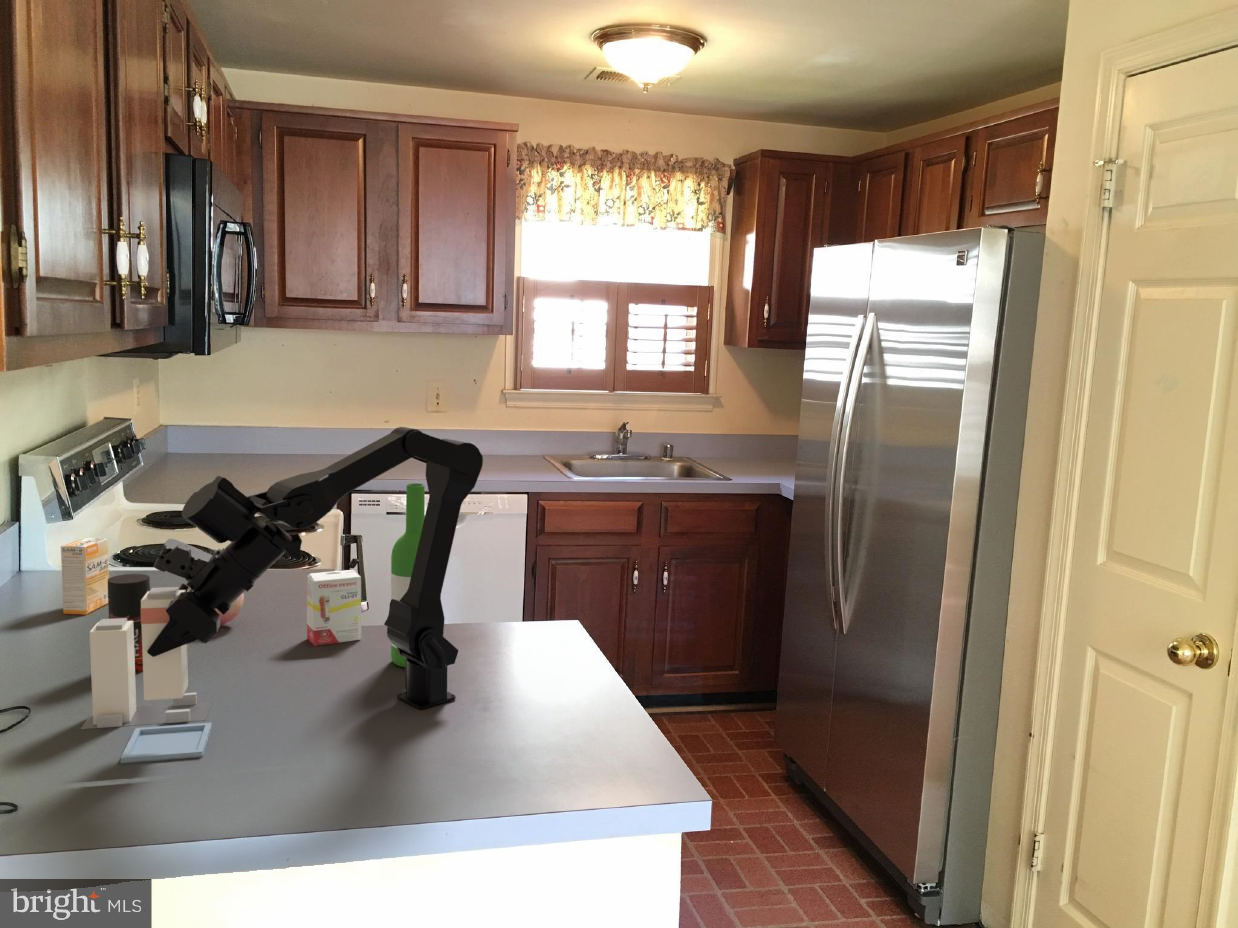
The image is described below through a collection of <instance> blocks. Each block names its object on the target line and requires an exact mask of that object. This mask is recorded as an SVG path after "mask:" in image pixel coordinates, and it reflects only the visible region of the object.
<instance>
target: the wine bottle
mask: <svg viewBox="0 0 1238 928" xmlns="http://www.w3.org/2000/svg"><path fill="white" fill-rule="evenodd" d="M425 488H426V487H425V485H424V484H423V483H416V482H415V483H408V484H407V485H406V494H405V495H406V497H405V499H406V503H405V508H406V509H405V532H404V533H403V534H402V535H401V536H400V537H399V538H398V539H397V540H396V542H395V543H394V544H393V546H392V551H391V558H390V559H391V562H390V563H391V564H390V601H391V600H392V599H395V600H398V601H400V599H401V598H402V597H403V596H404V594H405V593H406V592H407V590H408V588H409V584H410V579H411V575H412V571H413V566H414V562H415V558H416V553H417V549H418V544H419V540H420V536H421V531H422V527H423V523H424V518H425V514H426V511H425V509H426V508H425V502H426V501H425V498H426V497H425V492H426V491H425ZM390 658H391V660H392V662H393V663H394V664H395V665H396V666H397V667H401V668H405V666H406V657H405V656H403V655H400V654H399V653H398V650H397V647H396V646H395V645H393V644H392V643H391V642H390ZM394 664H393V665H394Z"/></svg>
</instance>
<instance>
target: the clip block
mask: <svg viewBox="0 0 1238 928" xmlns="http://www.w3.org/2000/svg"><path fill="white" fill-rule="evenodd" d="M197 694H198V693H197V692H185V694H184V696H183V698H175V699H172V701H173V702H172V703H169V704H168V703H167V704H155V705H140V706H139V705H136V711H135V713H134V715H133V717H132V719H131V721H130V722H124V723H123V713H122V714H107V715H98V716H97V724H95V725H93V710H92V711H91V712H90V714H89V715H88V717H87V719H86V720H85V721H84V723H83V724H82V726H81V728H80V730H89V729H90V730H92V729H104V728H115V727H116V728H118V727H133V726H134V727H136V726H147V725H161V724H162V725H163V724H176V723H189V722H190V723H191V722H204V721H206V720H207V716H208V713H209V710H210V709H211V704H212V701H202V702H201V701H199V702H198V699H197V698H198V697H197Z"/></svg>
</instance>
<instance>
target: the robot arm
mask: <svg viewBox="0 0 1238 928" xmlns="http://www.w3.org/2000/svg"><path fill="white" fill-rule="evenodd" d="M410 459H413V460H416V461H419V462H420V463H421V462H422V463H424V464H425V480H426V485H427V490H428V493H429V494H428V502H427V506H426V511H425V518H424V523H423V527H422V531H421V536H420V540H419V544H418V549H417V553H416V558H415V562H414V566H413V571H412V575H411V579H410V584H409V588H408V590H407V592H406V593H405V594H404V596H403V597H402V598H401V599H400V601H398V600H395V599H392V600H391V599H390V602H389V608H388V616H387V618H386V620H385V622H384V623H383V625H384V626H386V637H387V638H388V640H389V641H390V644H391V643H392V644H393V645H395V646H396V647H397V650H398V653H399V654H400V655H403V656H405V657H406V666H405V667H404V668H405V669H404V671H405V674H404V676H405V677H404V678H405V679H404V685H405V686H404V687H405V688H404V690H405V691H403V692H399V693H397V694H396V698H397V699H399V700H401V701H403V702H405V703H406V704H408V705H410V706H413V707H415V708H417V709H419V710H424V709H427V708H430V707H433V706H437V705H440V704H443V703H444V704H445V703H447V702H451V701H454V700H456V695H455V694H453V693H451V692H449V691H448V666H450V665H454V664H456V660H457V658H458V653H459V649H458V648H457V647H456V646H454V644H452V642H450V641H449V640H448V639H446V637H445V636H444V631H445V621H446V620H445V618H446V617H445V613H444V608H443V604H442V599H441V596H442V591H443V587H444V582H445V579H446V575H447V574H446V573H447V569H448V566H449V561H450V556H451V551H452V547H453V543H454V538H455V535H456V530H457V526H458V520H459V517H460V512H461V508H462V504H463V503H464V501H465V499H466V498H467V497H468V496H469V494H471V492H472V491H473V490H474V488H475V487H476V485H477V482H478V479H479V476H480V474H481V471H482V469H483V464H484V457H483V454H482V453H481V450H480V449H479V448H478V447H477V446H476V445H475V444H473V443H470V442H467V441H462V440H457V439H453V438H438V437H435V436H432V435H430V434H427V433H424V432H422V431H421V430H419V429H417V428H411V427H407V426H399V427H396V428H394V429H393V430H392V431H391V432H390V433H388V434H386V435H384V436H383V437H380V438H379V439H376V440H374V441H373V442H371V443H369V444H367V445H366V446H364V447H362V448H360V449H358V450H356V451H354V452H353V453H351V454H349V455H347V456H345V457H344V458H341V459H340V460H339V459H338V460H337V461H336V462H333V463H332V464H330V465H329V466H327V467H325V468H321V469H319V470H315V471H310V472H304V473H301V474H297V475H293V476H291V477H290V476H289V477H287V478H284V479H282V480H278V481H276V482H275V483H273V484H272V485H270V487H269V488H268V489H267V490H266V491H262V492H258V493H255V494H252V495H249V496H248V495H245V494H244V493H243V492H241V491H240V490H239V489H237V487H235V486H234V483H232V482H231V481H230V480H229V479H227V478H226V477H225V476H221V475H217V476H215V478H214V479H213V481H211V482H209V483H207V484H204V486H202V487H201V488H200V489H199V490H197V491H194V492H193V493H192V494H191V496H190V497H189V498H188V499H187V501H186V502H185V503H184V506H183V507H182V510H181V511H182V512H181V516H182V518H183V519H185V520H186V521H187V522H189V523H190V524H191V525H193V526H194V527H196V528H197V529H198V530H200V531H201V532H202V533H204V534H205V535H206V536H208V537H209V538H211V539H212V540H213V541H215V542H216V543H217V544H224V543H226V542H228V541H229V542H230V543H228V545H227V546H225V548H222V549H220V548H218V549H217V550H216V551H215V552H214V553H213V554H211V553H208V552H206V551H204V550H202V549H200V548H197V547H195V546H192V545H190V544H187V543H184V542H182V541H179V540H177V539H174V538H168V539H167V540H166V541H165V542H164V544H163V545H162V547H161V550H160V552H159V554H158V556H157V558H156V560H155V562H154V565H153V568H155V569H156V570H158V571H159V572H163V573H165V572H167V573H170V574H172V575H175V576H177V577H181V578H183V579H185V580H186V584H185V583H181V584H180V586H179V590H185V592H181V593H180V594H179V595H178V596H177V597H176V598H175V599H174V600H173V601H171V602H170V604H169V605H168V607H167V609H166V612H167V613H168V615H169V621H168V623H167V624H166V625H165V627H164V628H163V630H162V631H161V632H160V634H159V635H158V636H157V638H156V639H155V641H154V642H153V643H152V645H151V646H150V648H149V649H148V650H147V653H148V654H150V655H151V656H152V657H155V656H157V655H160V654H162V653H165V652H167V651H170V650H172V649H175V648H177V647H180V646H183V645H185V644H187V645H188V644H190V643H192V642H196V641H199V642H200V643H203V644H205V645H206V644H207V643H208V642H210V640H211V639H212V638H214V636H215V635H217V633H218V631H219V629H220V627H221V626H220V614H218V613H217V611H216V610H215V609H217V610H219V611H220V612H221V613H222V614H223V615H224V614H225V613H226V612H227V611H228V610H229V609H230V607H231V604H232V603H233V602H234V601H235V600H236V599H237V598H238V597H239V596H241V595H242V594H243V593H245V592H250V590H251V589H252V588H253V587H254V586H255V582H256V581H257V580H259V578H261V577H262V575H264V573H265V572H266V571H267V570H268V569H270V567H271V566H273V565H274V564H275V563H276V562H277V561H278V560H279V559H280V558H281V557H282V556H284V554H285V553H287V554H288V555H289V556H291V557H292V559H295V560H296V561H301V560H302V549H301V548H302V543H303V540H302V537H301V535H300V534H299V533H287V532H286V531H285V530H284V529H282V528H281V527H280V526H279V525H277V524H276V523H275V522H279V523H281V524H283V525H285V526H289V527H291V528H294V529H299V530H304V529H305V530H306V529H308V528H310V527H312V526H313V525H315V524H317V523H318V522H319V521H320V520H321V519H323V518H324V517H325V516H326V515H328V514H329V513H331V511H332V510H333V509H334V507H335V506H336V504H337V503H338V502H339V500H341V499H342V498H344V497H345V496H346V495H347V494H349V493H351V492H353V491H355V490H356V489H358V488H360V487H361V486H363V485H365V484H367V483H368V482H370V481H372V480H374V479H376V478H378V477H379V476H381V475H383V474H385V473H386V472H388V471H390V470H392V469H394V468H396V467H397V466H399V465H401V464H403V463H405V462H407V461H408V460H410ZM256 515H258V516H261V517H264V518H266V519H267V520H270V522H264V521H262V520H260V519H259V518H258V517H256ZM271 521H274V522H271Z"/></svg>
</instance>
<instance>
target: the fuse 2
mask: <svg viewBox="0 0 1238 928" xmlns="http://www.w3.org/2000/svg"><path fill="white" fill-rule="evenodd" d="M179 588H180V586H165V587H151V588H150V591H148V592H147V593H146V594H145V596H144V597H143V598H142V600H141V624H142V652H143V672H142V674H143V675H142V677H143V678H142V679H143V700H144V701H155V700H156V701H157V700H171V699H172V700H173V699H175V698H183V696H184V694H185V693H186V691H187V688H188V686H189V673H188V672H189V668H188V667H189V666H188V644H185V645H183V646H180V647H177V648H175V649H172V650H170V651H167V652H165V653H162V654H160V655H157V656H155V657H152V656H151V655H150V654H148V653H147V650H148V649H149V648H150V646H151V645H152V643H153V642H154V641H155V639H156V638H157V636H158V635H159V634H160V632H161V631H162V630H163V628H164V627H165V625H166V624H167V623H168V621H169V615H168V613H167V612H166V609H167V607H168V605H169V604H170V602H171V601H173V600H174V599H175V598H176V597H177V596H178V595H179V594H180V593H181V592H185V590H179Z"/></svg>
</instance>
